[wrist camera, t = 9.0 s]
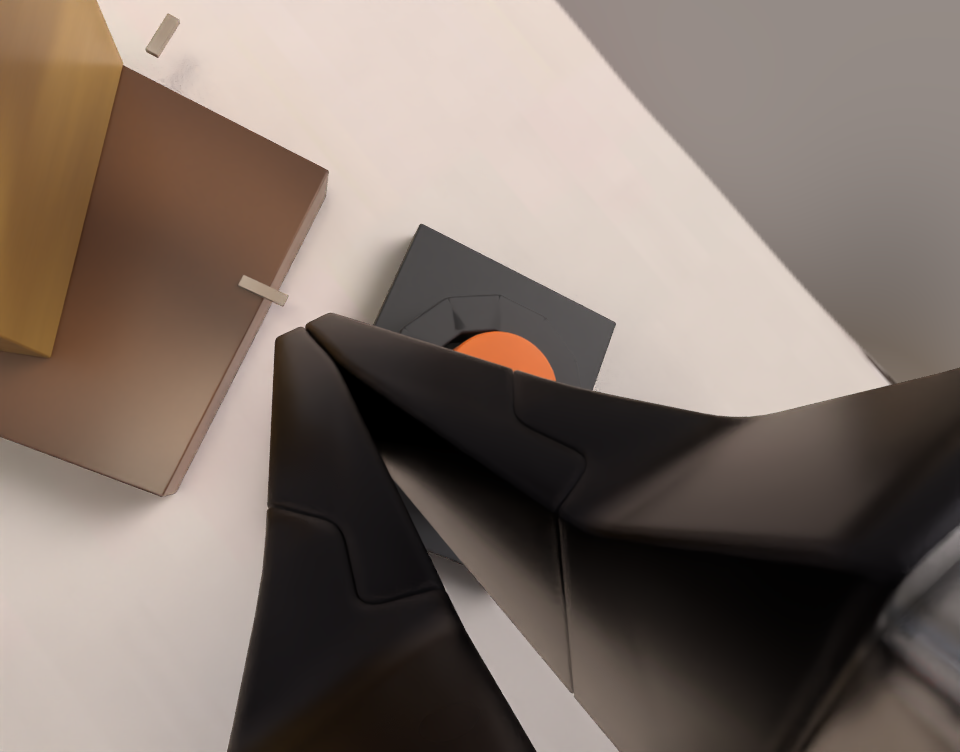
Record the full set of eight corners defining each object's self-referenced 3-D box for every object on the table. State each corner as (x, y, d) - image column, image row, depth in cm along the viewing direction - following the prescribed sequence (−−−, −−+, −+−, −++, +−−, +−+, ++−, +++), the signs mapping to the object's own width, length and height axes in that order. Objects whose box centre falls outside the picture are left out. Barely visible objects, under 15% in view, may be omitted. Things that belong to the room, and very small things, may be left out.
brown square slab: (193, 504, 19) (181, 509, 17) (-299, 320, 16) (-383, 299, 14) (366, 155, 22) (373, 123, 20) (-22, -49, 20) (-59, -109, 17)
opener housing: (511, 581, 22) (544, 599, 19) (294, 497, 20) (294, 502, 17) (601, 329, 24) (643, 311, 21) (414, 234, 22) (432, 201, 20)
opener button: (513, 472, 20) (534, 473, 18) (409, 427, 19) (420, 424, 17) (551, 370, 20) (575, 361, 19) (453, 323, 20) (468, 310, 18)
